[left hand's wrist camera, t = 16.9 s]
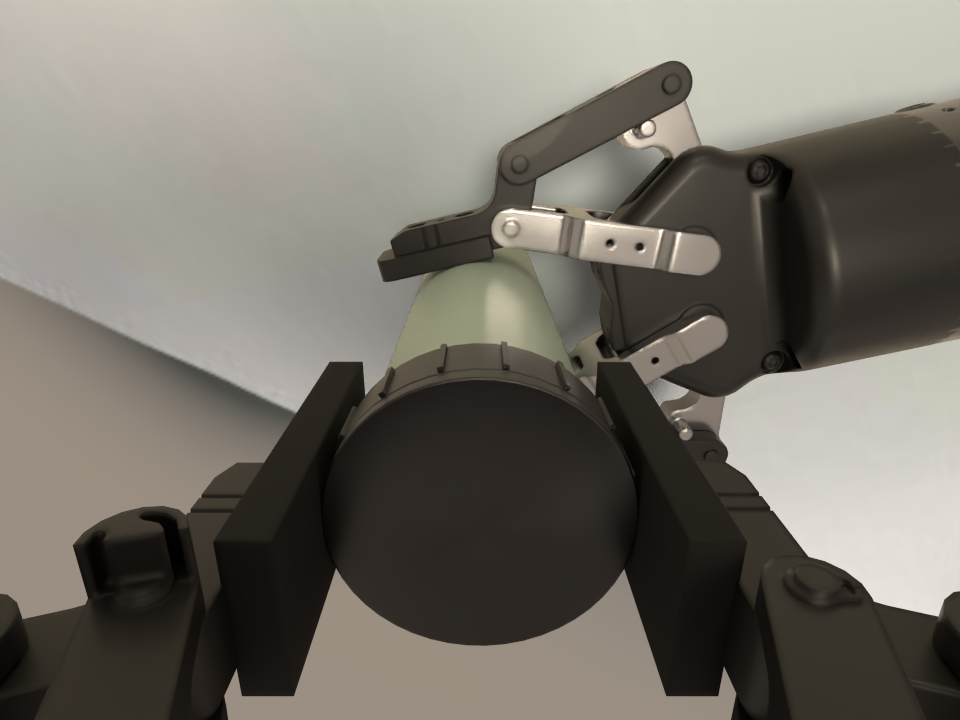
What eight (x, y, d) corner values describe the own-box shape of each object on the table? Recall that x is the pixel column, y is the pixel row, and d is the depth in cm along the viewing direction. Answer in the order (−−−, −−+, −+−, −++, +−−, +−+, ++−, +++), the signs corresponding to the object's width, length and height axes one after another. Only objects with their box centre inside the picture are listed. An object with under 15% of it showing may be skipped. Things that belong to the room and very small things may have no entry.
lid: (556, 291, 11) (570, 319, 9) (659, 529, 12) (684, 587, 11) (286, 411, 11) (255, 455, 10) (418, 618, 13) (410, 683, 12)
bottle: (465, 353, 28) (445, 644, 12) (404, 266, 27) (290, 468, 11) (554, 297, 27) (661, 534, 11) (496, 204, 26) (523, 324, 10)
